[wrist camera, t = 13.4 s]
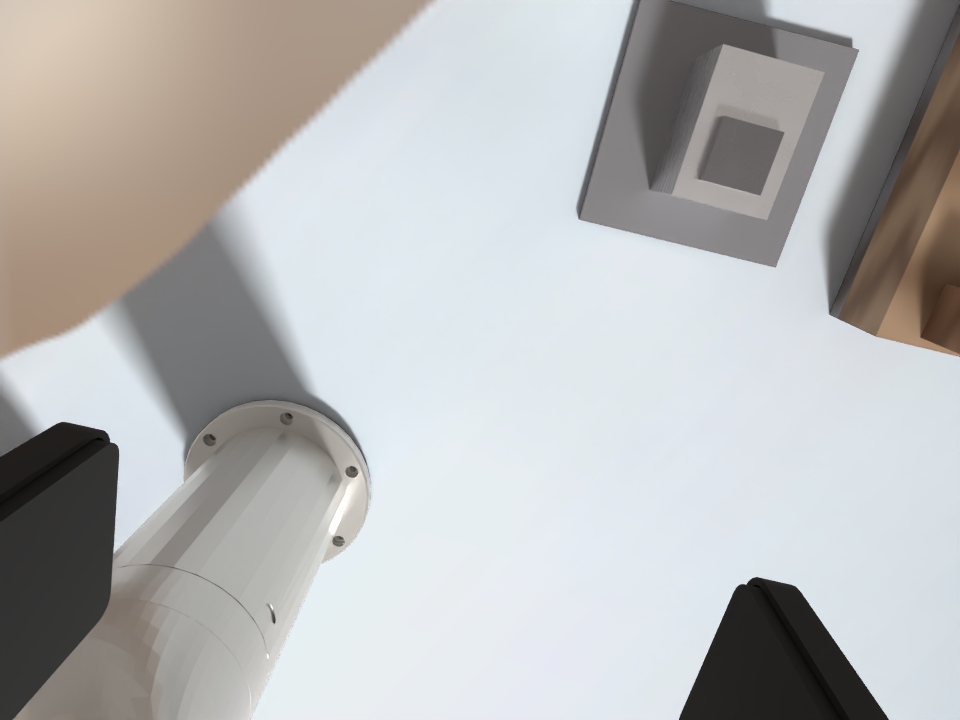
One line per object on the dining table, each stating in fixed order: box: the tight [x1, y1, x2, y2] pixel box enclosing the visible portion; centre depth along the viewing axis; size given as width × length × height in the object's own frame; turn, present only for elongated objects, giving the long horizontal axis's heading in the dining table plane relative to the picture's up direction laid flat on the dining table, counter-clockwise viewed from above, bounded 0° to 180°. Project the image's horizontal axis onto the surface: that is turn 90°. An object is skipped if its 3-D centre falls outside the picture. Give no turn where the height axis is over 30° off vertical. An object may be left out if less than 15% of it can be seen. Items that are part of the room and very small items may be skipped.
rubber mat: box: [579, 0, 859, 267], centre depth 35 cm, size 12×12×1 cm
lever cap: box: [650, 44, 825, 220], centre depth 32 cm, size 7×5×6 cm
